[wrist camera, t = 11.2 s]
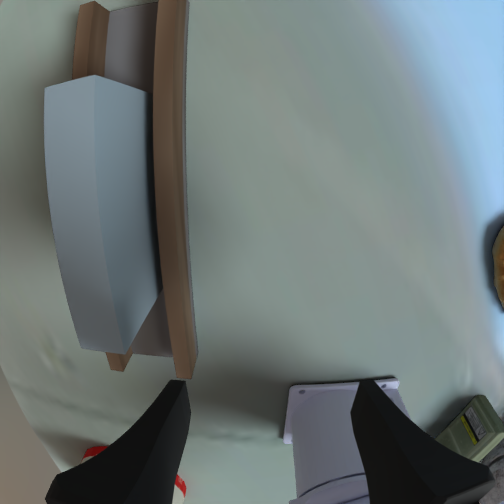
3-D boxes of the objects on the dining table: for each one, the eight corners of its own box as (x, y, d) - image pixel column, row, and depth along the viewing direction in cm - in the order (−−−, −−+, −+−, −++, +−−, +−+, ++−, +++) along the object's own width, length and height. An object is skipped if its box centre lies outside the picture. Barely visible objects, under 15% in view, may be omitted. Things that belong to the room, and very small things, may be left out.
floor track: (189, 2, 14) (178, -18, 11) (198, 352, 23) (191, 379, 20) (101, 18, 14) (80, 5, 12) (124, 346, 23) (110, 369, 20)
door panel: (152, 94, 16) (95, 74, 9) (163, 288, 20) (125, 354, 13) (114, 99, 16) (44, 87, 9) (128, 286, 20) (81, 348, 13)
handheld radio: (488, 395, 26) (367, 503, 34) (473, 391, 25) (350, 502, 33) (512, 433, 19) (373, 537, 27) (498, 432, 19) (355, 538, 27)
